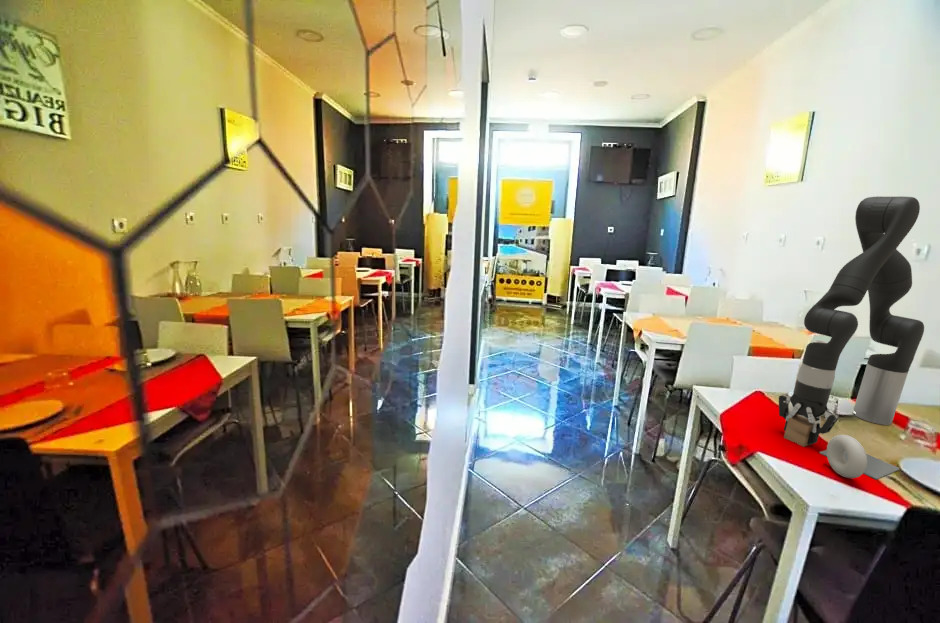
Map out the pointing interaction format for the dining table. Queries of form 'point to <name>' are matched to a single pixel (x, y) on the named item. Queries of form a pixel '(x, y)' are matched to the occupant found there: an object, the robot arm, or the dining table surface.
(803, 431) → the walnut block
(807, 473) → the dining table surface
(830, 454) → the donut
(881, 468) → the slate mat
